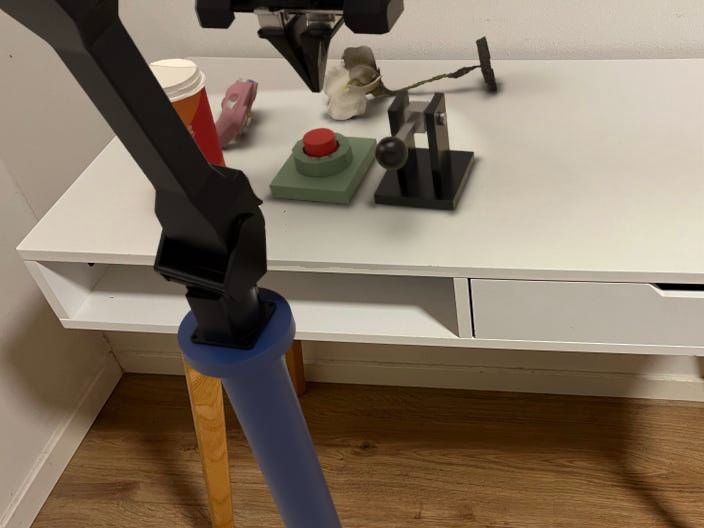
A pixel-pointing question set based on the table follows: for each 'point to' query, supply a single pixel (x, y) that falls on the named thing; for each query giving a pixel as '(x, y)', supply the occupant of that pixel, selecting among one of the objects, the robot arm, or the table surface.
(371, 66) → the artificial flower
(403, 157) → the lever
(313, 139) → the button
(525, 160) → the table surface
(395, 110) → the bracket
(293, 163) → the control block
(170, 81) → the paper cup
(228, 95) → the pink toy car
